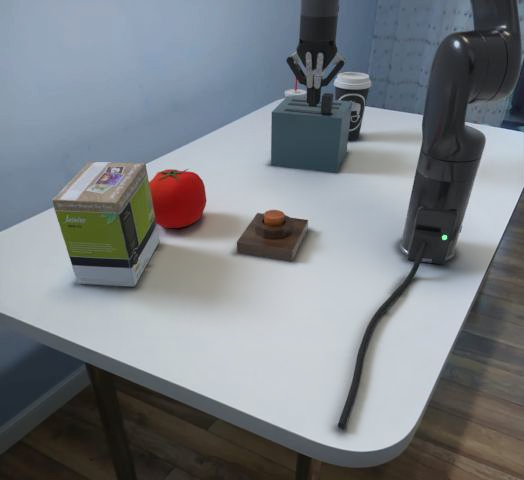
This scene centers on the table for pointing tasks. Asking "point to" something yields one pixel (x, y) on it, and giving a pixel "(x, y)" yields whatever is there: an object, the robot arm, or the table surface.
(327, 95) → the slider
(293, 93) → the beverage cup
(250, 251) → the block
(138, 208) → the tea box
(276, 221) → the button
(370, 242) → the table surface
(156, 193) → the tomato
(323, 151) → the toaster
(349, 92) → the coffee cup
